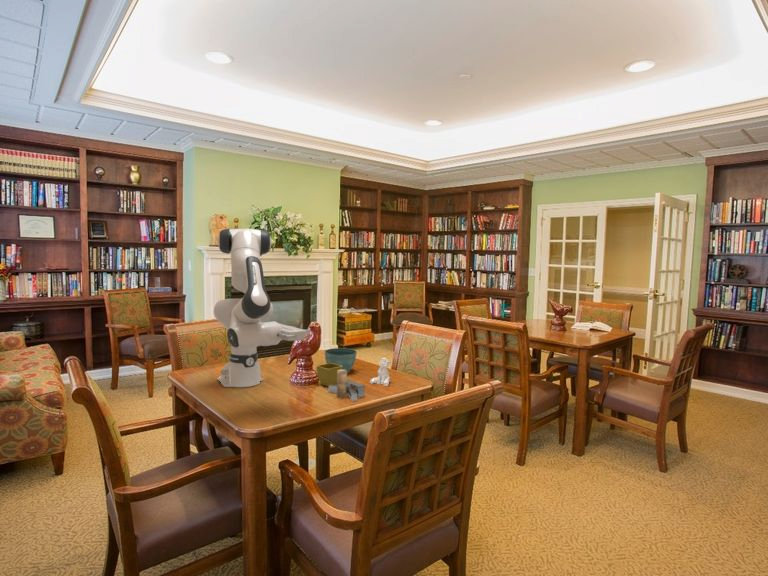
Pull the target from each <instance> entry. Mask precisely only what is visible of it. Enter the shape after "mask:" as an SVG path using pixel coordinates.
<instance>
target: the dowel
mask: <svg viewBox="0 0 768 576" xmlns="http://www.w3.org/2000/svg"><path fill="white" fill-rule="evenodd" d="M347 379H348V373H347V370H338V372H337V393H336V396H337V398H339V397H341V398H340V399H342V398H343V397H344V398H347V397H346V396H347ZM344 398H343V399H344Z"/></svg>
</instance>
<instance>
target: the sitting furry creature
mask: <svg viewBox="0 0 768 576" xmlns="http://www.w3.org/2000/svg"><path fill="white" fill-rule="evenodd" d="M378 363H379V364H378V365H379V368H378V370H377V377H372V378H371V379H370V380H369V383H371V385H374V384H373V383H377V384H376V385H381V384H383V385H382V386H384V387H385V386H387V387H388V386H389V383H390V379H391V378H390V373H389V369H388V367H389V366H390V364H391V363H392V361H391V360H388V358H386V357H382V358H380V360H379V362H378Z"/></svg>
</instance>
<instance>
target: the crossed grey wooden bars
mask: <svg viewBox="0 0 768 576" xmlns="http://www.w3.org/2000/svg"><path fill="white" fill-rule="evenodd" d="M365 389H366V387H365V384H363V383H360V382H357V381H354V380H352V379H348V378H347V394H348V398H349V399H350V401H351V402H358V399H361V398H364V397H365V395H366V394H365V393H366V392H365V391H366V390H365ZM328 393H331V394H337V385H334V384H330V385H329V387H328ZM360 397H361V398H360Z"/></svg>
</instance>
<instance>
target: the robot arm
mask: <svg viewBox="0 0 768 576" xmlns="http://www.w3.org/2000/svg"><path fill="white" fill-rule="evenodd" d="M216 243H217V246H218V249H219V251H221V253H223V254H227V255H229V254H230V264H231V271H230V272H231V285H232V287H233V288H234V289H235V290H237V291H239V292H242V293H244V295H243V297H241V298H226V299H220V300H218V301H217V302H216V303H215V304H214V306H213V315H214V317H215V320H217V321H218V322H219V323H220V324H221V325H223V326H224V327H225V328H226V330H227V331H226V332H227V333H226V335H227V336H226V337H227V341H228V342H229V344H230V346H231V347H230V349H231V352H229V359H228V360H229V361H228V362H227V363H226V364H225V365H224V366H223V367H222V369H221V370H220V374H221V375H220V376H218V377H216V380H217V379H218V380H219V381H220V382H221V383H220V382H219V381H218V380H217V381H218V382H219V383H220V384H221V385H222V387H224V388H249V387H253V386H257V385H259V384H261V382H262V381H263V380H264V377H262V376H261V375H262V373H261V364H260V363H259V361H258V360H259V359H258V357H259V356H258V354H259V353H258V352H257V349H258V347H261V346H263V347H267V346H268V347H269V346H275V345H278V344H279V343H280V342H281V341H282V340H284V341H288V342H293V341H305V339H306V338H307V335H310V334H311V329H307V328H306V329H304V328H303V329H302V328H299V327H298V326H297V325H287V324H283V323H279V322H277V321H270V320H271V318H272V317H273V314H274V306H273V303H272V302H271V300H270V296H269V294H268V292H267V288H266V284H265V277H264V268H263V265H262V261H261V258H260V257H262V256H263V255H266V254H267V253H269V252H270V251H271V247H272V244H273V240H272V236H271V234H270V232H269V231H267V230H264V229H255V228H254V229H253V228H248V227H245V228H224V229H221V230H220V231H219V234H218V236H217V241H216ZM260 381H261V382H260Z"/></svg>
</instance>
